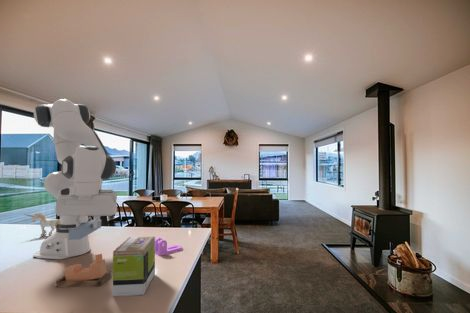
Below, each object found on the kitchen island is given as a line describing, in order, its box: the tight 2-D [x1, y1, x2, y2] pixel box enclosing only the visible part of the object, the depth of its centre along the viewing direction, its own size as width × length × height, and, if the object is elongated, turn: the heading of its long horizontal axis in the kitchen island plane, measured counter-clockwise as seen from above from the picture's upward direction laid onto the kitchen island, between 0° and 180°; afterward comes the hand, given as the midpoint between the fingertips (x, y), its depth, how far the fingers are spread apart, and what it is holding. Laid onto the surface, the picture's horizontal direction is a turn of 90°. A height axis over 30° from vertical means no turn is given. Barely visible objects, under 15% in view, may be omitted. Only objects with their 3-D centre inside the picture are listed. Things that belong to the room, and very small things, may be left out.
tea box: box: [112, 236, 156, 297], centre depth 84 cm, size 15×10×15 cm, turn 5°
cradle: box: [55, 270, 112, 288], centre depth 86 cm, size 15×8×2 cm, turn 93°
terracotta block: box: [64, 253, 108, 281], centre depth 86 cm, size 12×4×8 cm, turn 94°
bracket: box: [155, 237, 183, 257], centre depth 117 cm, size 13×6×7 cm, turn 133°
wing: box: [69, 219, 102, 240], centre depth 87 cm, size 16×4×3 cm, turn 7°
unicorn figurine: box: [23, 212, 61, 237], centre depth 142 cm, size 7×20×13 cm, turn 100°
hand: (86, 227), depth 87 cm, fingers closed on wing, 4 cm apart
